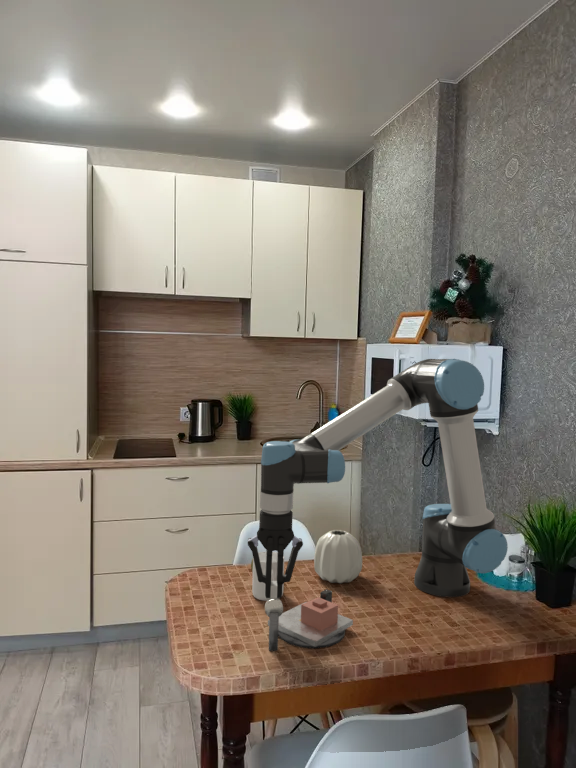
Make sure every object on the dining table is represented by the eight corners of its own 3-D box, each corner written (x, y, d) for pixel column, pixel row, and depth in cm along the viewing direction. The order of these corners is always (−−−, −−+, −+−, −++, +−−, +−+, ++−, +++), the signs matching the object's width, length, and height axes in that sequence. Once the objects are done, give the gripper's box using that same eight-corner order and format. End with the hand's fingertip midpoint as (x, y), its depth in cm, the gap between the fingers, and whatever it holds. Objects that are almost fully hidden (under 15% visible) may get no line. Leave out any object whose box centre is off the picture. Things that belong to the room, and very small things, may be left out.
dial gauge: (281, 645, 125) (283, 597, 124) (282, 651, 122) (284, 603, 122) (263, 645, 125) (264, 597, 124) (264, 651, 122) (265, 603, 121)
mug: (287, 607, 144) (288, 567, 143) (254, 608, 142) (255, 568, 142) (281, 588, 155) (282, 551, 155) (251, 589, 154) (251, 551, 154)
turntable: (306, 606, 141) (306, 581, 141) (352, 624, 132) (353, 598, 132) (267, 625, 131) (268, 599, 131) (315, 647, 122) (316, 618, 121)
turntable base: (338, 614, 140) (338, 610, 140) (350, 648, 124) (350, 643, 124) (274, 615, 139) (274, 611, 139) (277, 648, 123) (277, 644, 123)
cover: (317, 613, 135) (318, 593, 135) (337, 622, 131) (338, 601, 131) (300, 621, 131) (301, 601, 130) (320, 630, 127) (321, 609, 126)
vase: (304, 579, 162) (305, 533, 161) (329, 565, 173) (330, 522, 172) (347, 592, 154) (348, 543, 153) (370, 576, 165) (371, 531, 165)
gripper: (303, 505, 134) (299, 603, 135) (247, 505, 133) (244, 603, 134) (306, 514, 126) (302, 618, 127) (247, 514, 125) (244, 618, 126)
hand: (272, 610), depth 131 cm, fingers closed
